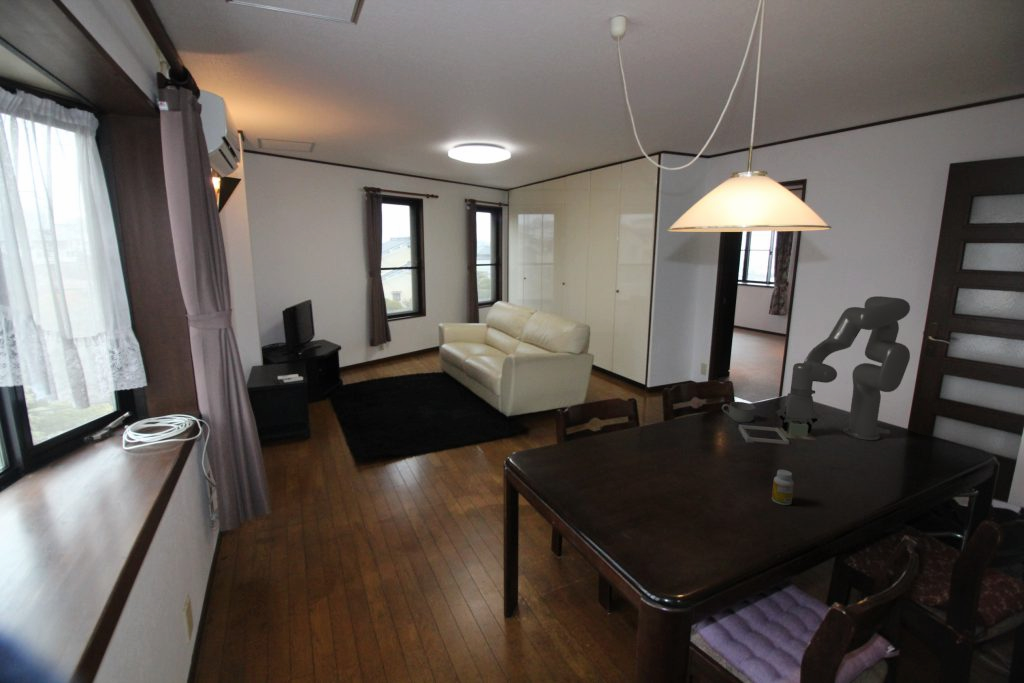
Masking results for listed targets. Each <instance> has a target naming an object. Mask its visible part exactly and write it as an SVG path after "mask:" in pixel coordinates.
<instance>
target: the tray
mask: <svg viewBox="0 0 1024 683" xmlns="http://www.w3.org/2000/svg"><path fill="white" fill-rule="evenodd" d="M778 428H779V427H778ZM778 428H777V427H771V426H770V427H769V426H760V425H759V426H758V425H748V424H747V425H746V424H745V425H744V424H738V431H739V433H740V435H741V436H742V437H743V439H744V440H745V442H746V443H747V444H755V442H758V443H769V444H770V443H771V444H781V445H790V440H789V438H786V437H785V436H784V435H783V433H782V432H781V431H780V430H779V429H778ZM746 429H747V430H757V431H758V430H760V431H770V432H776V433H777V434H778V436H779V437H781V439H773V438H762V437H752V436H750V434H749V432H748V431H747V430H746Z"/></svg>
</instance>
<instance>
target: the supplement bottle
mask: <svg viewBox="0 0 1024 683" xmlns="http://www.w3.org/2000/svg"><path fill="white" fill-rule="evenodd" d="M792 478H793V473H792V472H791V471H788V470H786V469H777V472H776V476H774V478H773V484H772V493H771V494H772V495H771V500H772V501H773V502H774V503H776V504H778V505H783V506H789V505H791V504H792V501H793V495H794V494H793V493H794V485H795V483H794V480H793V479H792Z"/></svg>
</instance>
